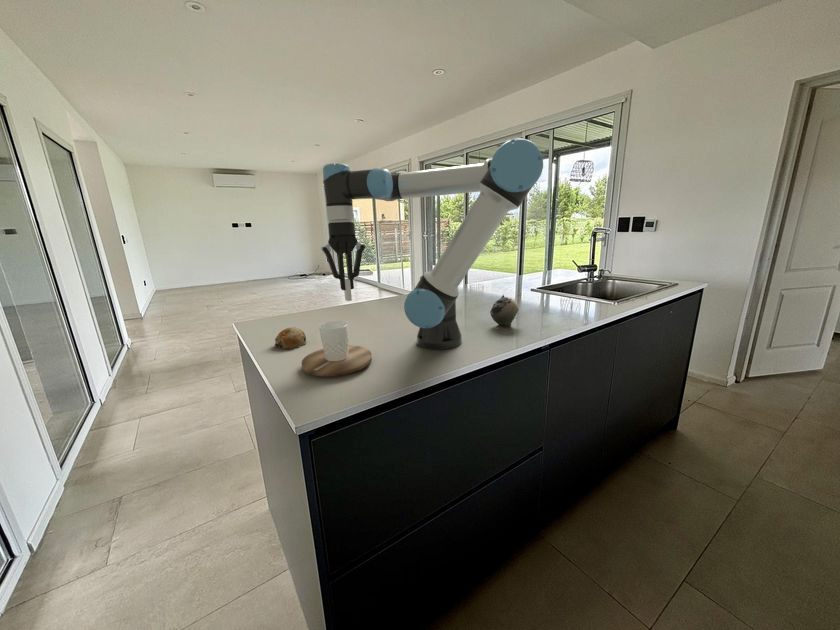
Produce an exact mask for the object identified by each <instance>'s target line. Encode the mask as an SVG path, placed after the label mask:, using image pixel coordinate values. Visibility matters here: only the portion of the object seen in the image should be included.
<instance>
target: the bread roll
mask: <svg viewBox="0 0 840 630" xmlns="http://www.w3.org/2000/svg"><path fill="white" fill-rule="evenodd" d="M274 341H275V342H274V346H275V347H277V348H279V349H280V350H281V349H282V350H291V349H296V348H300V347H302V346H305V345H306V344H307V336H306V333H305V332H304V330H302V329H301V328H297V327H296V326H295V327H294V326H293V327H287V328H284V329H283V330H280V332H279V333H278V335H276V337H275V338H274Z"/></svg>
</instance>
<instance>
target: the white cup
mask: <svg viewBox="0 0 840 630" xmlns="http://www.w3.org/2000/svg"><path fill="white" fill-rule="evenodd" d="M348 325H349V324H348V322H347V321H344V320H343V321H342V320H333V321H327V322H324V323H321V324H320V325H319V326H318V327H319V333H320V338H321V344H322V349H323V350H324V353H325V359H326V360H328V361H341V360H344V359H346V358H347V357H348V356H349V352H348V347H349V345H350V343H349V328H348Z"/></svg>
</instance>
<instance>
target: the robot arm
mask: <svg viewBox="0 0 840 630" xmlns="http://www.w3.org/2000/svg"><path fill="white" fill-rule="evenodd" d="M543 157H544V156H543V155H542V152H541V150H540V149H539V147H538V146H537V145H536V144H535V143H534V142H532V141H531V140H528V139H526V138H513V139H509V140H507V141H505V142H504V143H502V144H501V145H500V146H499V147H498V148H497V149H496V151H495V152H494V153H493V155H492V158H487V159H485V161H484V162H482V163H474V164H465V165H458V166H450V167H441V168H434V169H433V168H431V169H425V170H423V169H422V170H415V171H408V172H407V171H406V172H400V173H391V172H390V171H389V170H388V169H387V168H376V167H375V168H372V169H363V170H361V169H360V170H351V169H350V166H349V165H348V164H346V163H339V162H338V163H328V164H327V163H326V164H325V165H324V166H323V167H322V174H323V181H322V182H323V187H324V194H325V195H324V196H325V205H326V215H327V221H328V224H327V226H328V234H329V235H328V237H329V239H328V241H327V244H326V245H324V246H321V249H320V250H321V251H322V252H323V254H325V257H326V260H327V263H328V265H329V268H330V271H331V274H332V276H333V277H334V278H335V279H336V280H339V283H340V284H339V285H340V286H339V287H340V289H341V291H343V293H344V300H345V301H346V302H352V301H353V297H352V290H354V289H355V285H354V283H355V282H354V279H355V278H357V277H359V276H360V272H361V271H360V270H361V264H362V263H361V262H362V256H363V252H364V250H365V248H366V245H365V244H362V243H361V242H358V239H357V237H356V229H355V222H354V219H355V217H354V207H353V200H367V199H369V200H370V199H372V200H379V201H384V202H394V201H397V200H404V199H406V200H407V199H415V198H424V197H425V198H427V197H436V196H450V195H458V194H459V195H460V194H469V193H470V194H471V193H479V195H478V196H477V198H476V199H475V201H474V203H473V204H472V206H470V209H469V211H468V212H467V214H466V215H465V217H464V219H463V220H462V222H461V223H460V225H459V227H458V228H457V229H456V231H455V233H454V235H453V236H452V238H451V240H450V241H449V242H448V244H447V246H446V248H445V249H444V251H443V252H442V254H441V255H440V257H439V259H438V260H437V262H436V263H435V265H434V267H433V268H432V270H428V271H425V272H424V273H423V274H422V275H421V276H420V277H419V280H418V283H417V284H416V285H415V287H414V288H413V290H412V291H410V292H409V293H408V294H407V296H406V298H405V300H404V303H403V304H404V305H403V309H404V313H405V316H406V318H407V320H409V322H410V323H411V324H413V325H414V326H416V327H417V328H418V332H417V335H416V343H417V345H418V346H419V347H421V348H423V349H428V350H437V351H438V350H447V349H452V348H456V347H458V346H460V345H461V344H462V341H463V339H462V333H461V330H460V327H459V324H458V321H457V298H458V297H459V294H460V293H459V285H460V284H461V282H462V281H463V280H464V278H465V276H466V275H467V274H468V273H469V271H470V269H471V268H472V267H473V265H474V264H475V262H476V260H477V259H478V257H479V256H480V255H481V253H482V252H483V250H484V249H485V247H486V245H487V244H488V243H489V241H490V239H491V238H492V237H493V235H494V234H495V232H496V231H497V229H498V227H499V226H500V225H501V223H502V221H504V218H505V217H506V215H508V212H510V211H513V210H518V208H519V207H520V206H521V204H522V203H523V202H524V200H525V198H526V197H527V195H528V193H530V191H531V190H532V188H533V187H534V186H535V185H536V183H537V182H538V180H539V179H540V177H541V175H542V174H543V170H544V158H543ZM354 249H355V250H356V253H355V259H354V266H353V260H352V259H353V258H352V256H353V255H352V252H353V250H354ZM332 250H333V252H335V254H336V258H337V267H336V265H335V261H334V259H333V256H332V254H331V251H332ZM344 254H345V255H344ZM344 256H345V263H346V273H347V278H346V276H345V275H346V274H345V265H344V264H345V263H344ZM337 269H338V270H337Z"/></svg>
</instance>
